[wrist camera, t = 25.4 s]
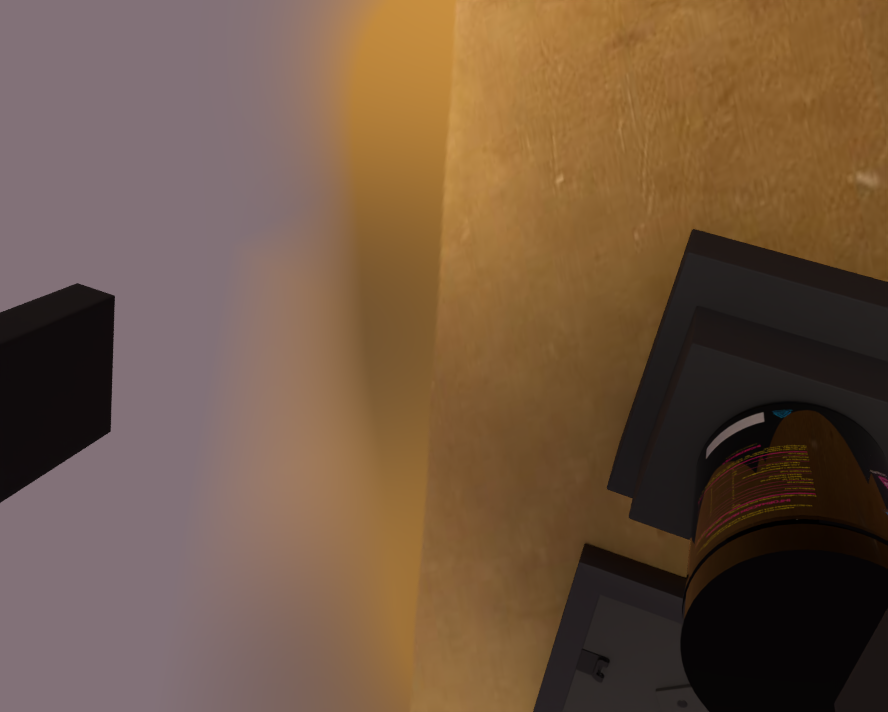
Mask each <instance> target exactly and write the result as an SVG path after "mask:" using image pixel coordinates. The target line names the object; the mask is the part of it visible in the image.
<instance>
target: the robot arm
mask: <svg viewBox="0 0 888 712" xmlns="http://www.w3.org/2000/svg"><path fill="white" fill-rule="evenodd" d="M114 305H115V296H114V295H111V294H108V293H104V292H102V291H99V290H96V289H93V288H90V287H87V286H84V285H81V284H78V283H77V284H74V285H71V286H69V287H66V288H64V289H61V290H58V291H56V292H53V293H51V294H48V295H45V296H43V297H40V298H37V299H35V300H32V301H29V302H27V303H24V304H22V305H19V306H16V307H14V308H11V309H8V310H6V311H3V312H1V313H0V503H1V502H2V501H4V500H5V499H7V498H8V497H10V496H11V495H13V494H15V493H16V492H18V491H19V490H21V489H22V488H24V487H25V486H27V485H28V484H30V483H32V482H33V481H35V480H36V479H38V478H39V477H40V476H42V475H44V474H46V473H47V472H49V471H50V470H52V469H53V468H55V467H56V466H58V465H59V464H61V463H62V462H64V461H65V460H67V459H69V458H70V457H72V456H73V455H75V454H77V453H78V452H80V451H81V450H82V449H84V448H86V447H87V446H89V445H90V444H92V443H94V442H95V441H97V440H98V439H100V438H101V437H103V436H104V435H106V434H108V433H109V432H110V431H111V400H112V399H111V398H112V368H113V365H112V364H113V337H114V336H113V335H114V333H113V332H114ZM834 707H835V712H888V608H887V610H886V612H885V614H884V616H883V617H882V619H881V621H880V623H879V624H878V626H877V628H876V630H875V632H874V633H873V635H872V637H871V639H870V640H869V642H868V644H867V646H866V648H865V649H864V651H863V653H862V655H861V657H860V658H859V660H858V662H857V664H856V665H855V667H854V669H853V671H852V673H851V674H850V676H849V678H848V680H847V681H846V683H845V685H844V687H843V689H842V690H841V692H840V694H839V696H838V698H837V699H836V701H835V703H834Z"/></svg>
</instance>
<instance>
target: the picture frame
mask: <svg viewBox="0 0 888 712" xmlns="http://www.w3.org/2000/svg"><path fill="white" fill-rule="evenodd" d="M686 580H687V579H685V578H682V577H679V576H677V575H674V574H671V573H668V572H665V571H662V570H659V569H657V568H654V567H651V566H648V565H645V564H642V563H639V562H636V561H634V560H631V559H628V558H625V557H622V556H619V555H616V554H613V553H611V552H608V551H605V550H602V549H599V548H596V547H593V546H590V545H588V544H584V547H583V551H582V554H581V557H580V560H579V564H578V567H577V570H576V573H575V577H574V580H573V583H572V587H571V590H570V593H569V596H568V600H567V603H566V606H565V609H564V613H563V616H562V619H561V622H560V626H559V629H558V632H557V636H556V639H555V642H554V645H553V649H552V652H551V655H550V658H549V662H548V665H547V668H546V671H545V675H544V678H543V681H542V684H541V688H540V691H539V694H538V698H537V701H536V704H535V707H534V711H533V712H709V711H708V710H707V709H706V707H705V706H704V705H703V704H702V703H701V701H700V700H699V698H698V697H697V695H696V694H695V692H694V691H693V689H692V687H691V685H690V683H689V681H688V679H687V676H686V674H685V671H684V667H683V663H682V658H681V651H680V637H681V626H682V602H683V594H684V590H685V586H686Z"/></svg>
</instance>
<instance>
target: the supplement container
mask: <svg viewBox="0 0 888 712" xmlns="http://www.w3.org/2000/svg"><path fill="white" fill-rule="evenodd" d="M887 608H888V462H887V460H886V457H885V455H884V453H883V451H882V449H881V447H880V446H879V445H878V443H877V442H876V440H875V439H874V438H873V437H872V436H871V434H870V433H869V432H868V431H867V430H866V429H864V428H863V427H862V426H861V425H860V424H858V423H857V422H856V421H854V420H853V419H851V418H850V417H848V416H846V415H844V414H842V413H840V412H838V411H836V410H834V409H831V408H828V407H825V406H822V405H818V404H814V403H809V402H802V401H777V402H770V403H764V404H761V405H757V406H754V407H751V408H749V409H746V410H744V411H742V412H740V413H738V414H736V415H735V416H733V417H731V418H730V419H728V420H727V421H726V422H724V423H723V424H722V425H721V426H720V427H718V428H717V429H716V430H715V431H714V433H713V434H712V435H711V436H710V437H709V439H708V440H707V442H706V443H705V445H704V447H703V449H702V451H701V453H700V456H699V458H698V462H697V466H696V473H695V484H694V496H693V508H692V520H691V532H690V544H689V556H688V568H687V580H686V586H685V590H684V594H683V602H682V626H681V637H680V651H681V658H682V663H683V667H684V671H685V674H686V676H687V679H688V681H689V683H690V685H691V687H692V689H693V691H694V692H695V694H696V695H697V697H698V698H699V700H700V701H701V703H702V704H703V705H704V706H705V707H706V709H707V710H708V711H709V712H835V707H834V703H835V701H836V699H837V698H838V696H839V694H840V692H841V690H842V689H843V687H844V685H845V683H846V681H847V680H848V678H849V676H850V674H851V673H852V671H853V669H854V667H855V665H856V664H857V662H858V660H859V658H860V657H861V655H862V653H863V651H864V649H865V648H866V646H867V644H868V642H869V640H870V639H871V637H872V635H873V633H874V632H875V630H876V628H877V626H878V624H879V623H880V621H881V619H882V617H883V616H884V614H885V612H886V610H887Z"/></svg>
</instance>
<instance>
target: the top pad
mask: <svg viewBox="0 0 888 712" xmlns="http://www.w3.org/2000/svg"><path fill="white" fill-rule="evenodd" d="M777 401H802V402H809V403H814V404H818V405H822V406H825V407H828V408H831V409H834V410H836V411H838V412H840V413H842V414H844V415H846V416H848V417H850V418H851V419H853V420H854V421H856V422H857V423H858V424H860V425H861V426H862V427H863V428H864V429H866V430H867V431H868V432H869V433H870V434H871V436H872V437H873V438H874V439H875V440H876V442H877V443H878V445H879V446H880V447H881V449H882V451H883V453H884V455H885V457H886V460H887V462H888V361H884V360H881V359H877V358H874V357H871V356H867V355H864V354H860V353H857V352H854V351H850V350H847V349H844V348H840V347H837V346H833V345H830V344H827V343H823V342H820V341H816V340H813V339H810V338H806V337H803V336H799V335H796V334H793V333H789V332H786V331H782V330H779V329H776V328H772V327H769V326H765V325H762V324H759V323H755V322H752V321H748V320H745V319H742V318H738V317H735V316H732V315H728V314H725V313H721V312H718V311H715V310H711V309H708V308H704V307H701V306H697V307H696V309H695V312H694V315H693V317H692V320H691V323H690V326H689V329H688V331H687V334H686V337H685V340H684V343H683V345H682V348H681V351H680V354H679V357H678V359H677V362H676V365H675V368H674V371H673V373H672V376H671V379H670V382H669V385H668V387H667V390H666V393H665V396H664V399H663V401H662V404H661V407H660V410H659V413H658V415H657V418H656V421H655V424H654V427H653V429H652V432H651V435H650V438H649V441H648V443H647V446H646V449H645V452H644V455H643V457H642V460H641V463H640V468H639V472H638V477H637V481H636V486H635V490H634V495H633V499H632V504H631V509H630V513H629V518H630V519H632V520H635V521H638V522H641V523H644V524H646V525H649V526H652V527H655V528H658V529H660V530H663V531H666V532H669V533H672V534H674V535H677V536H680V537H683V538H685V539H688V540H690V532H691V520H692V508H693V496H694V484H695V473H696V466H697V462H698V458H699V456H700V453H701V451H702V449H703V447H704V445H705V443H706V442H707V440H708V439H709V437H710V436H711V435H712V434H713V433H714V431H715V430H716V429H717V428H718V427H720V426H721V425H722V424H723V423H724V422H726V421H727V420H728V419H730V418H731V417H733V416H735V415H736V414H738V413H740V412H742V411H744V410H746V409H749V408H751V407H754V406H757V405H761V404H764V403H770V402H777Z"/></svg>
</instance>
